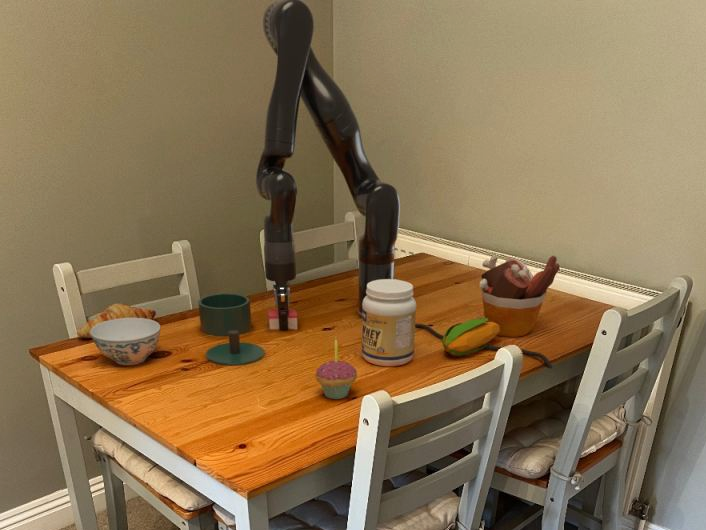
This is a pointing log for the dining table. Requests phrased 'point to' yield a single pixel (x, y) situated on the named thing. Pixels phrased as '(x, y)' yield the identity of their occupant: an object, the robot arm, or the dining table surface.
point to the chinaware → (126, 339)
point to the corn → (469, 336)
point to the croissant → (115, 316)
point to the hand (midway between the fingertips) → (283, 326)
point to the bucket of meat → (514, 294)
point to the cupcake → (336, 376)
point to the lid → (235, 352)
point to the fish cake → (275, 319)
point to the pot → (224, 314)
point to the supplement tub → (388, 322)
